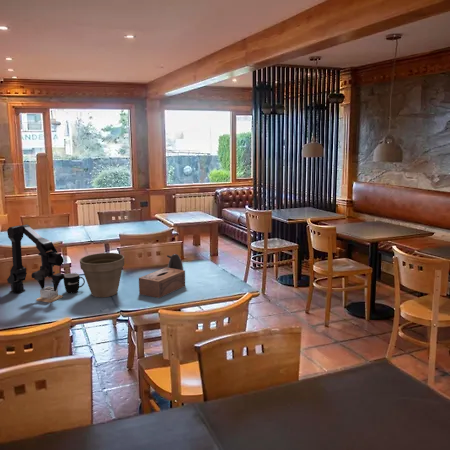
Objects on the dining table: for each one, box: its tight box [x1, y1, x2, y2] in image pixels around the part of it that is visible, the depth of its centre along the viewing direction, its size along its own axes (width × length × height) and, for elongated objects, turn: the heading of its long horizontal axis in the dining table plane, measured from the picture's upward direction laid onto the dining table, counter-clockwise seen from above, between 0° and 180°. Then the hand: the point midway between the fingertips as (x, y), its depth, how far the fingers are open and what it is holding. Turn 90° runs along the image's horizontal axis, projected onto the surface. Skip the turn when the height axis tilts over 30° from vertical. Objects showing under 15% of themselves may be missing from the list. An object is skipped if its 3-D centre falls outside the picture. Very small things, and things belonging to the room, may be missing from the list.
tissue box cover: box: [138, 267, 186, 299], centre depth 289 cm, size 26×14×10 cm, turn 149°
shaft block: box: [35, 288, 63, 304], centre depth 274 cm, size 10×10×6 cm
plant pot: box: [79, 252, 125, 298], centre depth 281 cm, size 25×25×22 cm
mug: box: [63, 272, 86, 294], centre depth 287 cm, size 12×9×10 cm
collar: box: [39, 286, 59, 300], centre depth 274 cm, size 7×7×5 cm
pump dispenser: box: [166, 253, 184, 270], centre depth 315 cm, size 10×10×15 cm
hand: (49, 290), depth 274 cm, fingers open, 8 cm apart
